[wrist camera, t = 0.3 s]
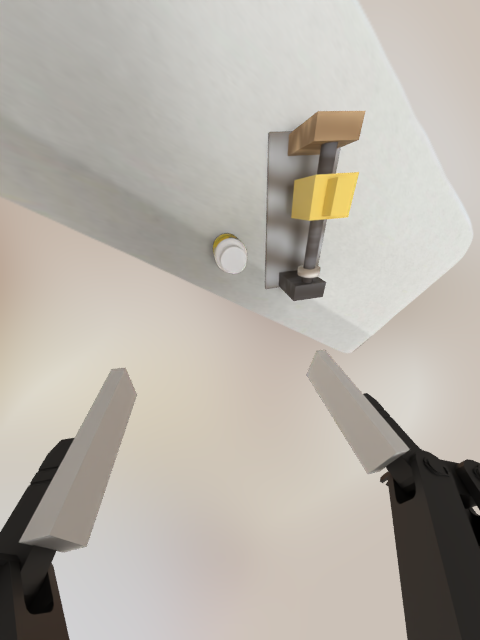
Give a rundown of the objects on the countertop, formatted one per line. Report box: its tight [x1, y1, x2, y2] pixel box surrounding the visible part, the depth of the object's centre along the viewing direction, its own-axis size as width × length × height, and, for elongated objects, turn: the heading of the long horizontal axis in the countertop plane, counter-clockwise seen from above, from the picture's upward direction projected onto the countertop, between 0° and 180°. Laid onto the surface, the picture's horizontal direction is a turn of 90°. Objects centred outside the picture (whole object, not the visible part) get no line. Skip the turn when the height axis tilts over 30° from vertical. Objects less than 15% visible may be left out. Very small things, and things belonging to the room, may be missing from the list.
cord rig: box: [265, 111, 365, 301], centre depth 30 cm, size 25×12×9 cm, turn 4°
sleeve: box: [291, 172, 359, 221], centre depth 25 cm, size 5×6×8 cm
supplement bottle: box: [213, 233, 247, 274], centre depth 30 cm, size 5×5×10 cm
